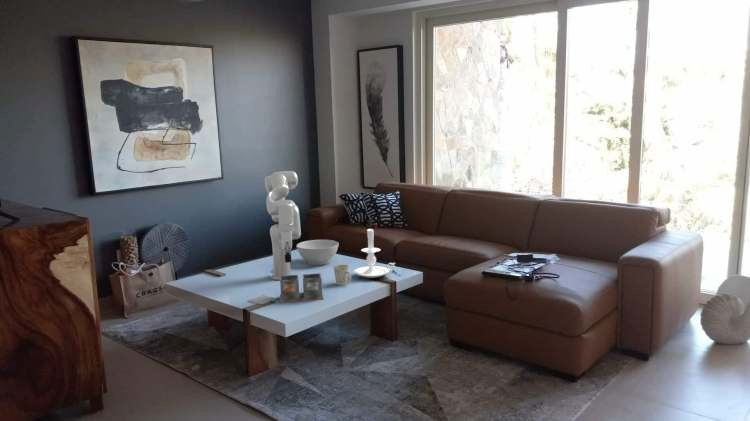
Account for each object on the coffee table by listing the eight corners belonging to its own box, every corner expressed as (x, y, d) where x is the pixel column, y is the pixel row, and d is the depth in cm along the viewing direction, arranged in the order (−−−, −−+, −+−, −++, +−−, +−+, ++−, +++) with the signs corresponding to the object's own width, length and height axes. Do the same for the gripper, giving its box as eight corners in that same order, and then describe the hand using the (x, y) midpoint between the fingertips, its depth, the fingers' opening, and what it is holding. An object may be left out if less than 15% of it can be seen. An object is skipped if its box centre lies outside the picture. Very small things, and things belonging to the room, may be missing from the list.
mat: (247, 301, 302) (247, 300, 302) (263, 295, 311) (263, 295, 311) (262, 305, 296) (262, 304, 296) (278, 299, 305) (278, 298, 305)
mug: (342, 280, 335) (341, 263, 333) (357, 284, 326) (356, 267, 325) (331, 283, 329) (330, 266, 328) (346, 288, 320) (345, 270, 319)
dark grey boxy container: (280, 302, 299) (278, 281, 298) (280, 295, 310) (279, 275, 308) (323, 299, 303) (322, 278, 301) (322, 292, 313) (321, 272, 311)
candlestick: (390, 282, 329) (389, 233, 324) (348, 280, 336) (347, 231, 332) (400, 272, 348) (399, 226, 344) (360, 270, 356) (358, 224, 351)
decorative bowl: (347, 260, 381) (347, 241, 379) (322, 270, 359) (321, 250, 357) (314, 255, 395) (313, 238, 393) (288, 265, 373) (287, 246, 371)
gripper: (279, 223, 307) (280, 255, 311) (278, 231, 290) (280, 264, 294) (293, 223, 308) (295, 254, 312) (294, 230, 292) (295, 263, 295)
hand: (288, 259), depth 303 cm, fingers open, 9 cm apart
